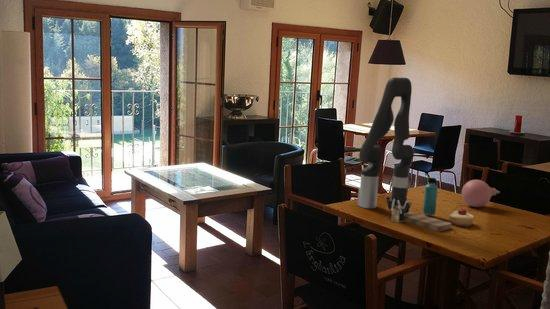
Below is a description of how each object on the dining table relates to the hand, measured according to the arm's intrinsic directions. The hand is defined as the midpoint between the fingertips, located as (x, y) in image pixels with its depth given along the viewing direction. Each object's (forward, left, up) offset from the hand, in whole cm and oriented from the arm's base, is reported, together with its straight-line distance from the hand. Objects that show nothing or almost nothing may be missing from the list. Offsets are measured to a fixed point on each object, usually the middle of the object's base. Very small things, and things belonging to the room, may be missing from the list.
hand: (397, 219), depth 260 cm
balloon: (+7, +64, -1) cm, 64 cm away
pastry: (+20, +24, -1) cm, 31 cm away
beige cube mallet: (0, +3, -1) cm, 3 cm away
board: (+9, +8, -1) cm, 12 cm away
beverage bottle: (+3, +22, -1) cm, 22 cm away
